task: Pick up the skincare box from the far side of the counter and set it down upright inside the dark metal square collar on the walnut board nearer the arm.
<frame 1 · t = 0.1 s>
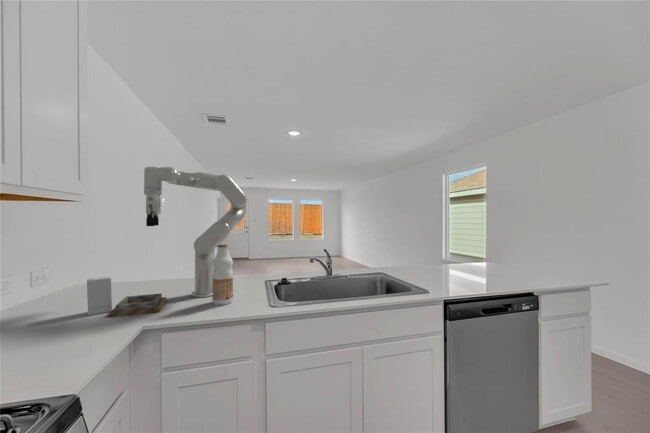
hand: (152, 225, 138), 37 cm above the worktop, tool pointing down, fingers open, 9 cm apart
skincare box: (99, 312, 119), on the worktop
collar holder: (140, 307, 124), on the worktop
fruit juice: (222, 302, 133), on the worktop
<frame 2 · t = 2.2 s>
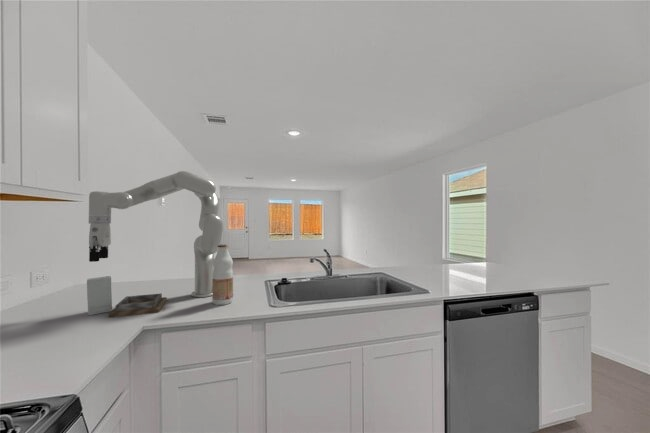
hand: (99, 259, 119), 23 cm above the worktop, tool pointing down, fingers open, 9 cm apart
nothing on the worktop moved.
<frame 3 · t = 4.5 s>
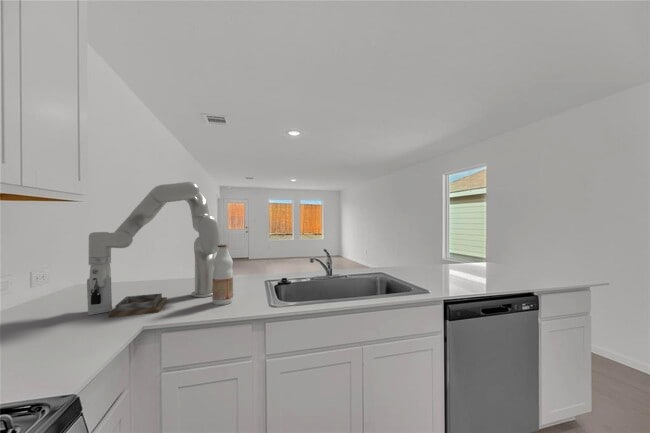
hand: (99, 301, 119), 5 cm above the worktop, tool pointing down, fingers closed on skincare box, 7 cm apart
skincare box: (99, 312, 119), on the worktop, touching gripper
everything else where it was.
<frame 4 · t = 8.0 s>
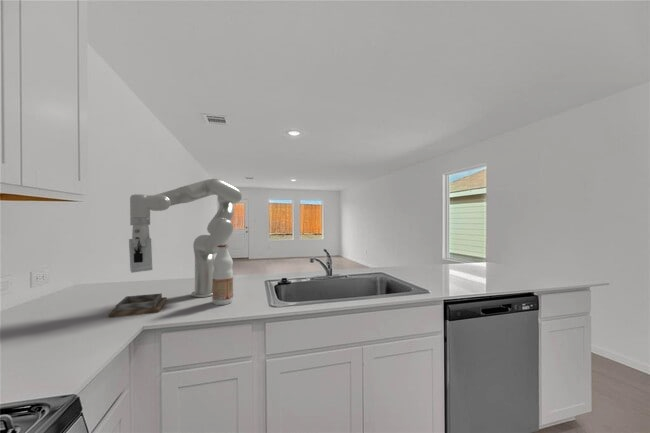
hand: (140, 260, 125), 21 cm above the worktop, tool pointing down, fingers closed on skincare box, 7 cm apart
skincare box: (140, 271, 125), point 17 cm above the worktop, touching gripper
everything else where it was.
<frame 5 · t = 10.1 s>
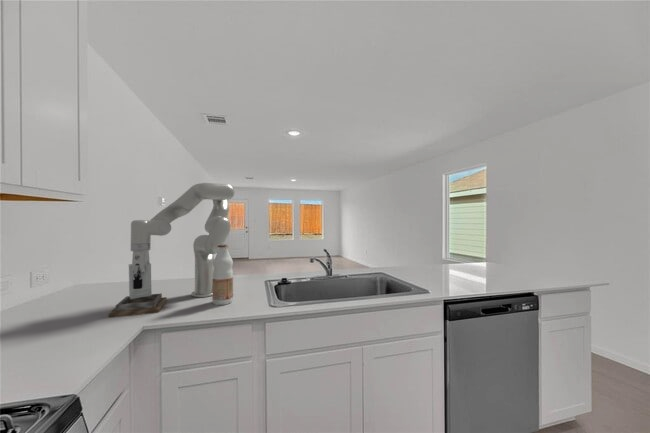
hand: (140, 286, 124), 10 cm above the worktop, tool pointing down, fingers closed on skincare box, 7 cm apart
skincare box: (140, 296, 124), point 5 cm above the worktop, touching gripper
everything else where it was.
when the fingers open (8 cm above the worktop, at t = 11.6 s): skincare box drops 2 cm, resting on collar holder.
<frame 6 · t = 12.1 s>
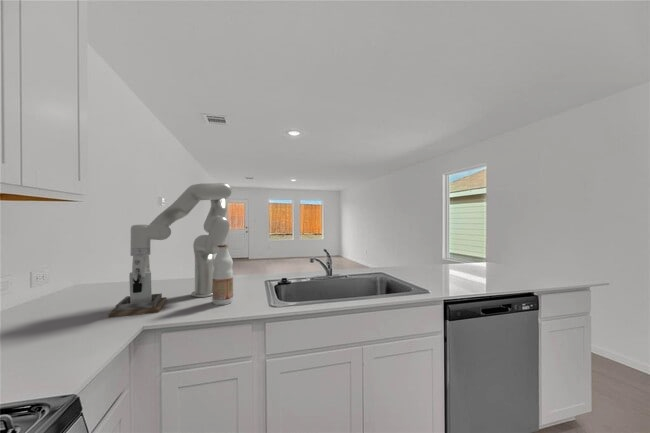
hand: (140, 289, 124), 8 cm above the worktop, tool pointing down, fingers open, 9 cm apart
skincare box: (140, 305, 124), point 1 cm above the worktop, touching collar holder
everything else where it was.
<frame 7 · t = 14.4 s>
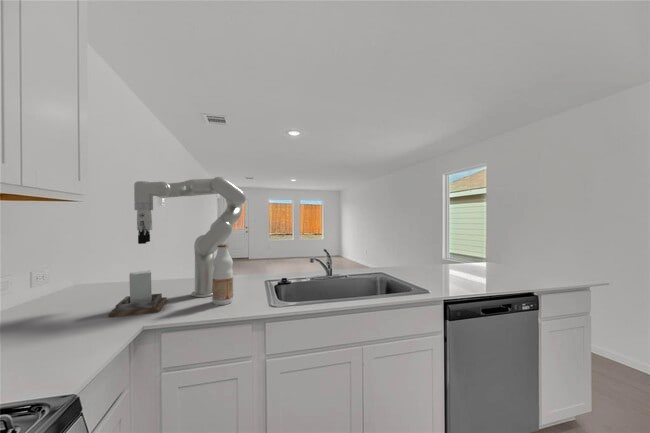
hand: (144, 242, 133), 29 cm above the worktop, tool pointing down, fingers open, 9 cm apart
nothing on the worktop moved.
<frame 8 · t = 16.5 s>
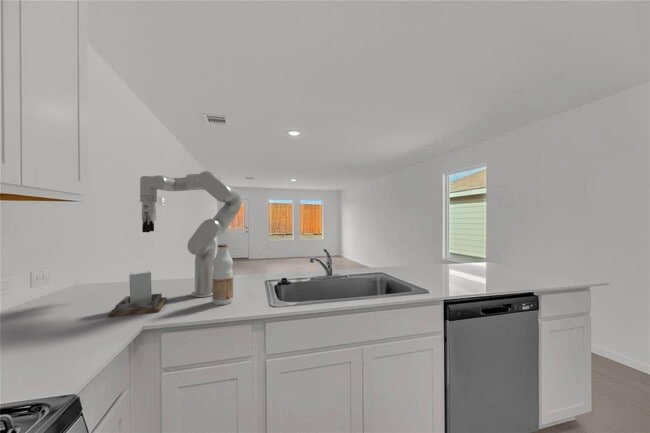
hand: (148, 231, 146), 33 cm above the worktop, tool pointing down, fingers open, 9 cm apart
nothing on the worktop moved.
at the end: skincare box 0.3 cm off-centre on the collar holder, point 1.3 cm above the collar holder's base; skincare box tilted 0°; the gripper is holding nothing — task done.
